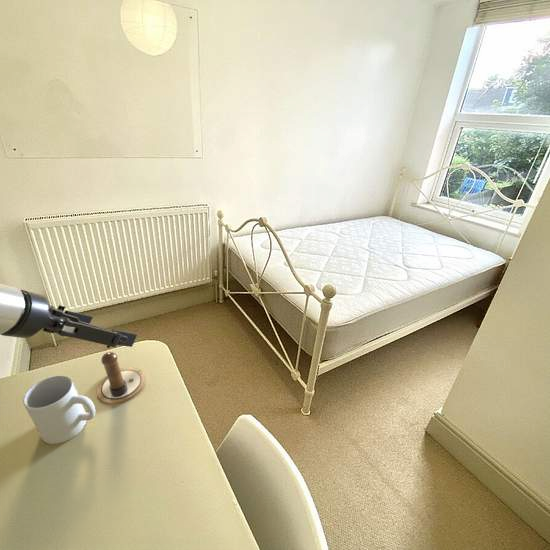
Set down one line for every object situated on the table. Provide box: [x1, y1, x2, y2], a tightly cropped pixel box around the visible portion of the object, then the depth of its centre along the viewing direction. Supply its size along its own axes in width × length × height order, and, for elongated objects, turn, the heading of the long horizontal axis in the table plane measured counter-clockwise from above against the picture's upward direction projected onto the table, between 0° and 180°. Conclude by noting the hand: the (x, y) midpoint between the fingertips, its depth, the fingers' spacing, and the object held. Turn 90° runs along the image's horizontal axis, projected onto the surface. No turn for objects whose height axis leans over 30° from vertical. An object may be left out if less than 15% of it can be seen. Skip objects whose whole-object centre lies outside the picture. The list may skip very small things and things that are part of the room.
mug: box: [22, 374, 97, 445], centre depth 64 cm, size 12×8×11 cm
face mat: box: [96, 367, 147, 405], centre depth 77 cm, size 11×11×1 cm
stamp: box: [100, 351, 127, 397], centre depth 72 cm, size 4×4×12 cm
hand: (110, 330), depth 68 cm, fingers open, 13 cm apart
